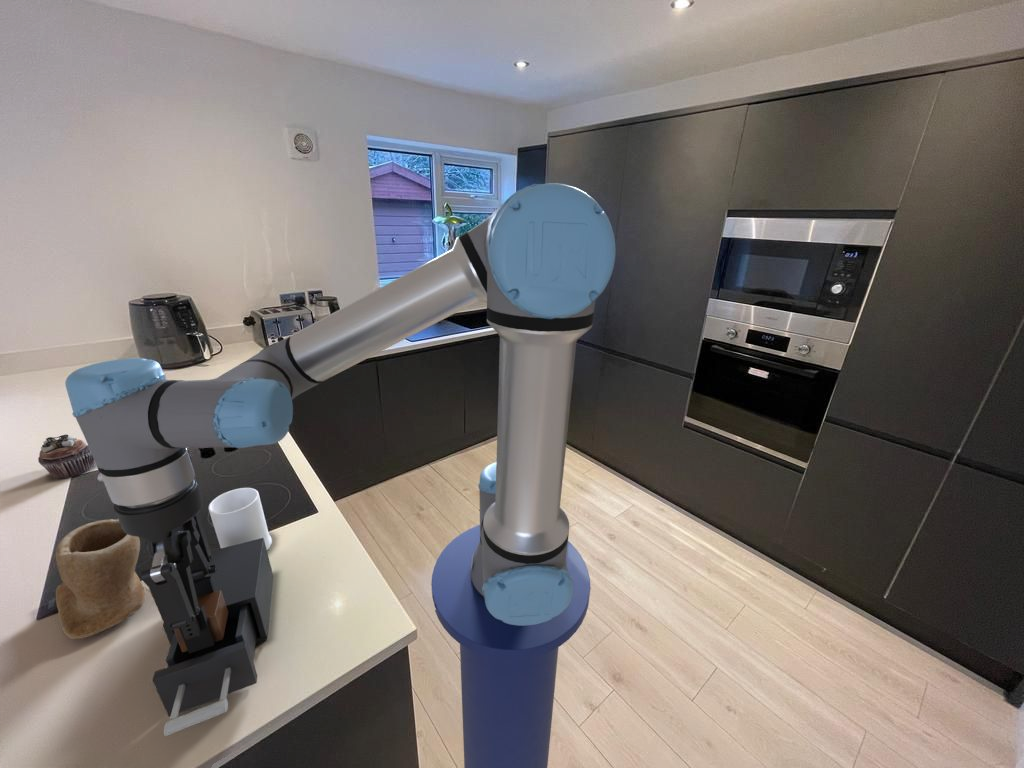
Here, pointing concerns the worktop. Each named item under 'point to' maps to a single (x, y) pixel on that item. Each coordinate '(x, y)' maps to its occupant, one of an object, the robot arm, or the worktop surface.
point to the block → (210, 616)
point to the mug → (239, 518)
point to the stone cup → (97, 578)
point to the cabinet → (244, 581)
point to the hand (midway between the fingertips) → (206, 629)
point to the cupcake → (65, 457)
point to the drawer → (208, 672)
